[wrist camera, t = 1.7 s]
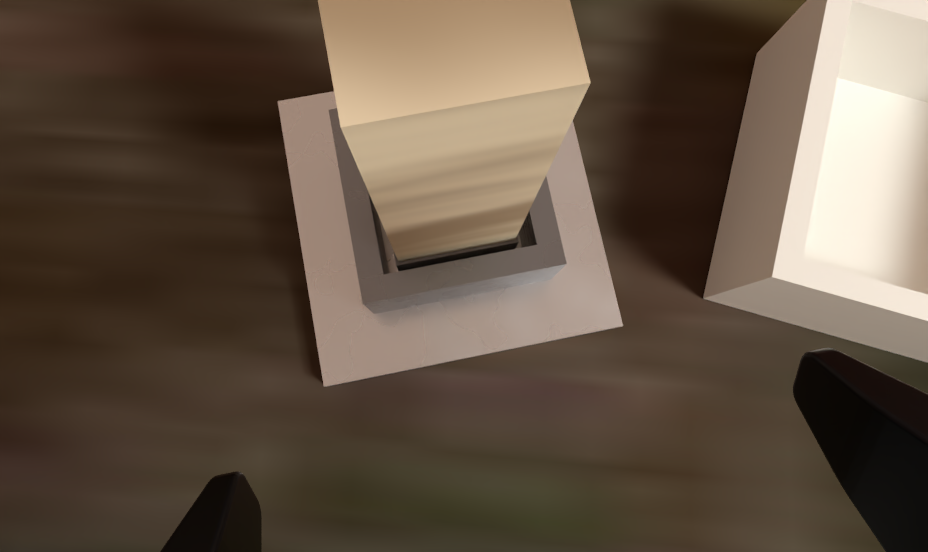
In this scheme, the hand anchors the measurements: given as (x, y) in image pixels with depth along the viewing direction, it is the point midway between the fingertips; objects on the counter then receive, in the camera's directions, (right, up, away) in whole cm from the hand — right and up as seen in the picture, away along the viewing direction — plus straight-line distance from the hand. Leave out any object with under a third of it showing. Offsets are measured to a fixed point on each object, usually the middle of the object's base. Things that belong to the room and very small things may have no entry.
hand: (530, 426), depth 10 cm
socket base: (-2, +5, +14) cm, 15 cm away
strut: (-2, +5, +13) cm, 14 cm away
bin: (+15, +5, +14) cm, 21 cm away
